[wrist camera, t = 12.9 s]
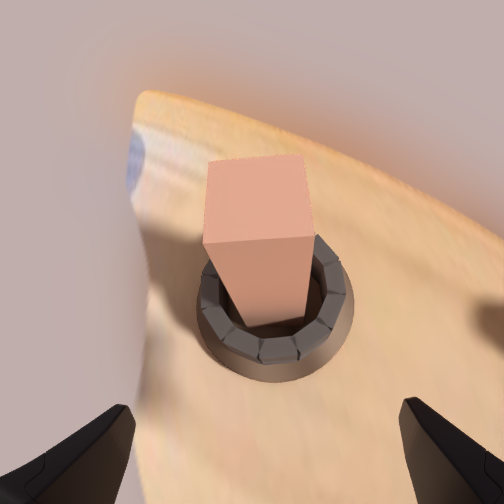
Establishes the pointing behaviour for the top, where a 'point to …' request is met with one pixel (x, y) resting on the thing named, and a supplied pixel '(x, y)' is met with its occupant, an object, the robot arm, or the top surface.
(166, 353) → the top surface
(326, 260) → the socket
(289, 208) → the terracotta peg
